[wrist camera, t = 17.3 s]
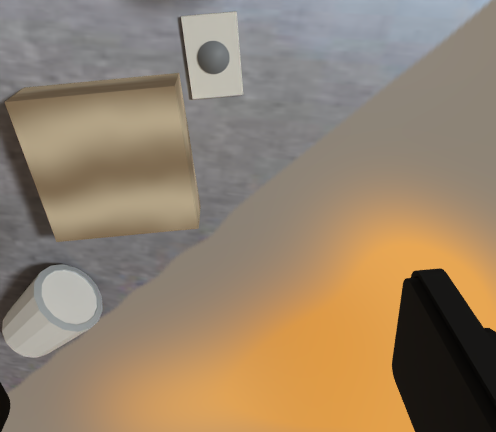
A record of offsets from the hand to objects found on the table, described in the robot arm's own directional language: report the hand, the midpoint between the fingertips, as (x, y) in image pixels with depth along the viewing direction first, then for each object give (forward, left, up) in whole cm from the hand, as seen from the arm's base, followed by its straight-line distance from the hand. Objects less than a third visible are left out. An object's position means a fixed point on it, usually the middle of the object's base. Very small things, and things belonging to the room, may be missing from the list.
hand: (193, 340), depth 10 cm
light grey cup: (+24, -21, -26) cm, 41 cm away
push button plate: (0, 0, -28) cm, 28 cm away
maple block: (+7, -9, -29) cm, 31 cm away
